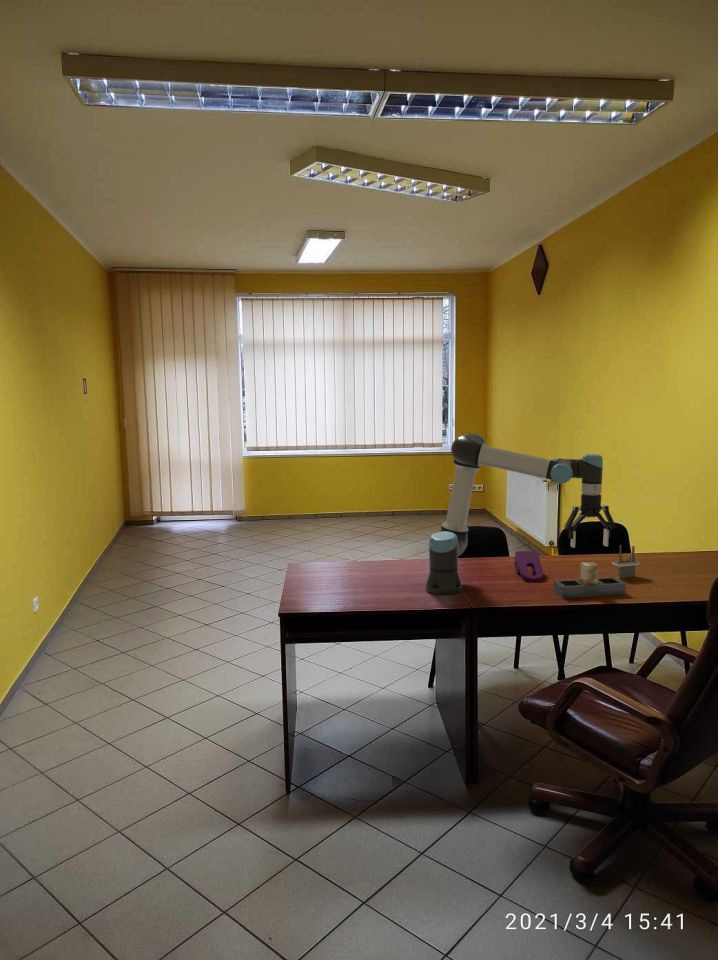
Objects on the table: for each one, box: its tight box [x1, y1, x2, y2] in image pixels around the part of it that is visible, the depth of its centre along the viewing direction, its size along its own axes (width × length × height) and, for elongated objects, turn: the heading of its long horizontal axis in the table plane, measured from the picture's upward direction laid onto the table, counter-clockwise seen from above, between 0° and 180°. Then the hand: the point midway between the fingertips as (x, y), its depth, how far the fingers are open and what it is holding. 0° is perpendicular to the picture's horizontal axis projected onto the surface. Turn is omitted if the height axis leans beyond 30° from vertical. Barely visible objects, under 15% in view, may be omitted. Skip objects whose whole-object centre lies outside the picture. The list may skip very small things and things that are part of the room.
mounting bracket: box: [513, 550, 544, 582], centre depth 292 cm, size 9×8×18 cm
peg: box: [580, 561, 599, 585], centre depth 265 cm, size 5×5×12 cm
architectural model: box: [611, 544, 641, 580], centre depth 285 cm, size 21×25×14 cm
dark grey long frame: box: [552, 576, 627, 599], centre depth 265 cm, size 26×9×4 cm, turn 96°
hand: (589, 546), depth 263 cm, fingers open, 13 cm apart
